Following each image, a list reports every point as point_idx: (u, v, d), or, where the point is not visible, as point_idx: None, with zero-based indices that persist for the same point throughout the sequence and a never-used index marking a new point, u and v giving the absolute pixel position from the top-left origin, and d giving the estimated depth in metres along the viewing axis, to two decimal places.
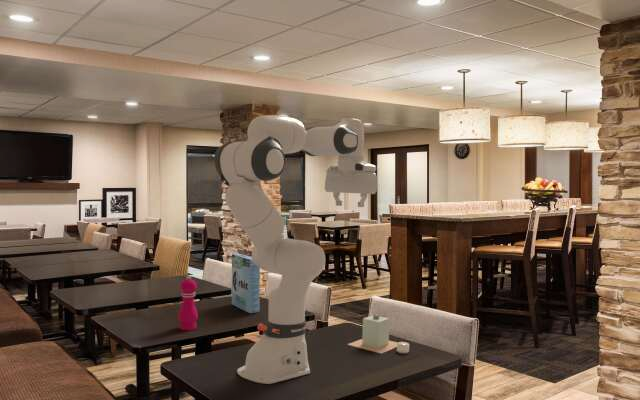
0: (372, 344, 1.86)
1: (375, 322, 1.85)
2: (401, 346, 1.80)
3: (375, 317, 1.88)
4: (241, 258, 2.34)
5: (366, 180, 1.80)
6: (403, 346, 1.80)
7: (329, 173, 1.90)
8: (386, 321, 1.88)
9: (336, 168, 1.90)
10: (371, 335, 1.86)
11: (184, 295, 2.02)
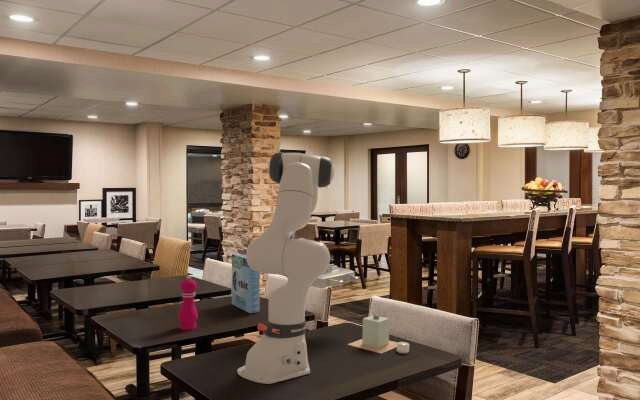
0: (372, 344, 1.86)
1: (375, 322, 1.85)
2: (401, 346, 1.80)
3: (375, 317, 1.88)
4: (241, 258, 2.34)
5: (343, 269, 2.08)
6: (403, 346, 1.80)
7: None
8: (386, 321, 1.88)
9: None
10: (371, 335, 1.86)
11: (184, 295, 2.02)
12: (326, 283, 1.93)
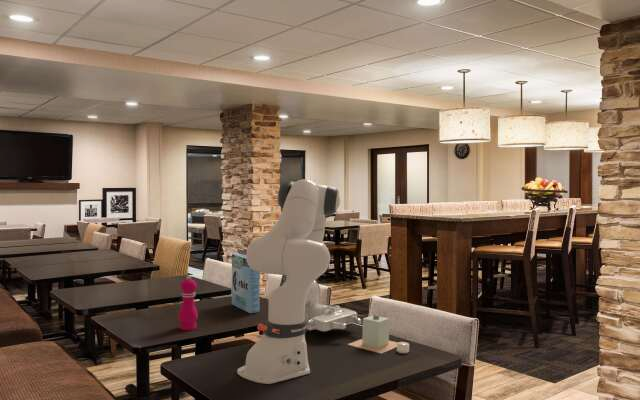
0: (372, 344, 1.86)
1: (375, 322, 1.85)
2: (401, 346, 1.80)
3: (375, 317, 1.88)
4: (241, 258, 2.34)
5: (346, 310, 2.07)
6: (403, 346, 1.80)
7: (314, 317, 1.96)
8: (386, 321, 1.88)
9: None
10: (371, 335, 1.86)
11: (184, 295, 2.02)
12: (329, 326, 1.92)
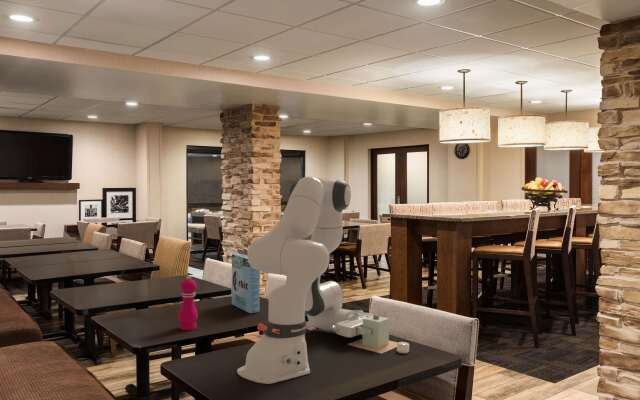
0: (372, 344, 1.86)
1: (375, 322, 1.85)
2: (401, 346, 1.80)
3: (375, 317, 1.88)
4: (241, 258, 2.34)
5: (369, 315, 2.00)
6: (403, 346, 1.80)
7: (338, 323, 1.89)
8: (386, 321, 1.88)
9: None
10: (371, 335, 1.86)
11: (184, 295, 2.02)
12: (354, 332, 1.85)
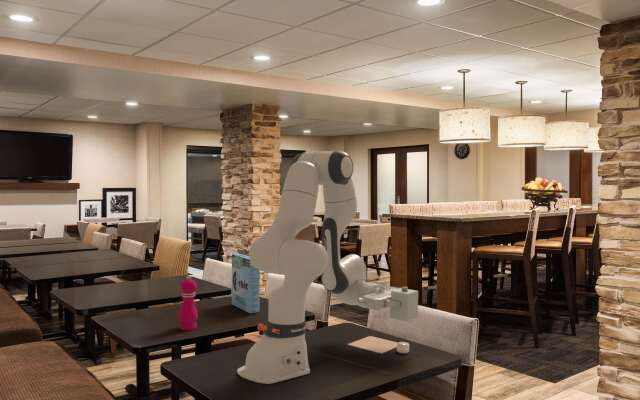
0: (400, 317, 1.78)
1: (404, 294, 1.77)
2: (401, 346, 1.80)
3: (404, 289, 1.80)
4: (241, 258, 2.34)
5: None
6: (403, 346, 1.80)
7: (365, 295, 1.82)
8: (415, 293, 1.80)
9: None
10: (400, 308, 1.78)
11: (184, 295, 2.02)
12: (382, 304, 1.78)
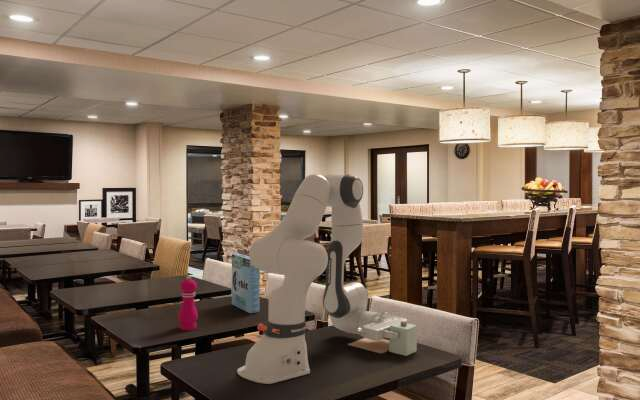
0: (399, 352, 1.79)
1: (403, 329, 1.78)
2: None
3: (403, 324, 1.81)
4: (241, 258, 2.34)
5: (395, 317, 1.93)
6: None
7: (364, 325, 1.82)
8: (414, 328, 1.81)
9: None
10: (399, 343, 1.79)
11: (184, 295, 2.02)
12: (381, 335, 1.78)
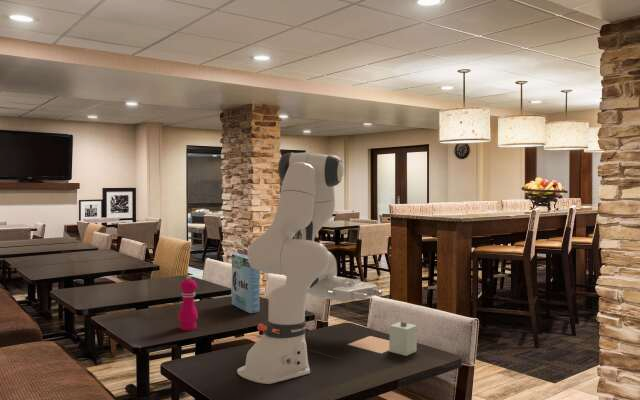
0: (399, 352, 1.79)
1: (403, 329, 1.78)
2: None
3: (403, 324, 1.81)
4: (241, 258, 2.34)
5: (366, 283, 2.00)
6: None
7: (334, 288, 1.89)
8: (414, 328, 1.81)
9: None
10: (399, 343, 1.79)
11: (184, 295, 2.02)
12: (350, 296, 1.86)
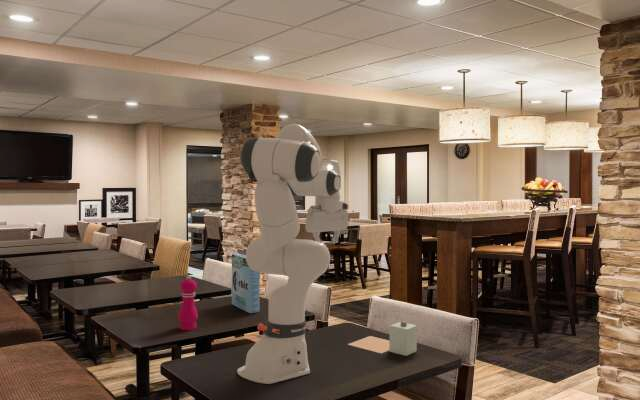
0: (399, 352, 1.79)
1: (403, 329, 1.78)
2: None
3: (403, 324, 1.81)
4: (241, 258, 2.34)
5: (345, 217, 1.99)
6: None
7: (317, 213, 1.87)
8: (414, 328, 1.81)
9: (318, 207, 1.89)
10: (399, 343, 1.79)
11: (184, 295, 2.02)
12: None
